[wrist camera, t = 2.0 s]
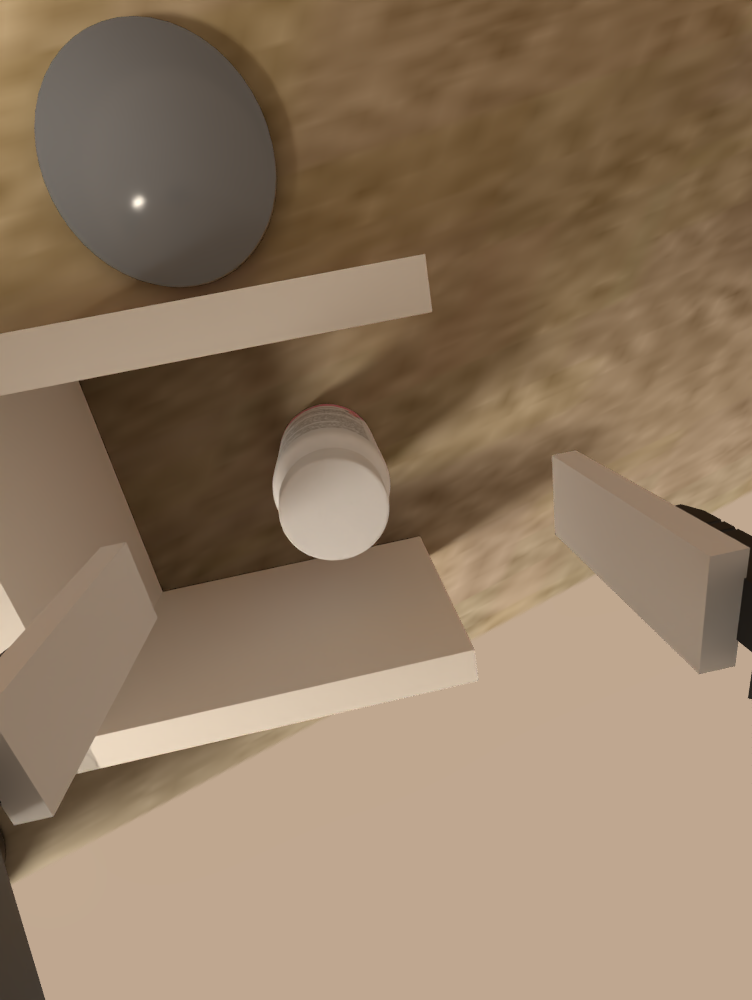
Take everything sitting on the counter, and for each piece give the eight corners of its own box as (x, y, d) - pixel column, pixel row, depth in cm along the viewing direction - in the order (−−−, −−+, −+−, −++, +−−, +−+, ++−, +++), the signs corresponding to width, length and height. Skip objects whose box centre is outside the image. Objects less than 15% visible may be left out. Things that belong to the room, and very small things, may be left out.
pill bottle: (260, 441, 25) (237, 501, 17) (335, 382, 24) (347, 417, 16) (320, 509, 26) (324, 593, 19) (391, 456, 26) (426, 519, 18)
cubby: (144, 620, 28) (60, 777, 18) (26, 343, 22) (-182, 368, 13) (423, 559, 28) (478, 680, 19) (378, 276, 23) (425, 254, 13)
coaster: (97, 304, 22) (89, 304, 21) (4, 48, 18) (-9, 37, 18) (298, 267, 22) (298, 265, 21) (243, 10, 19) (240, -3, 18)
